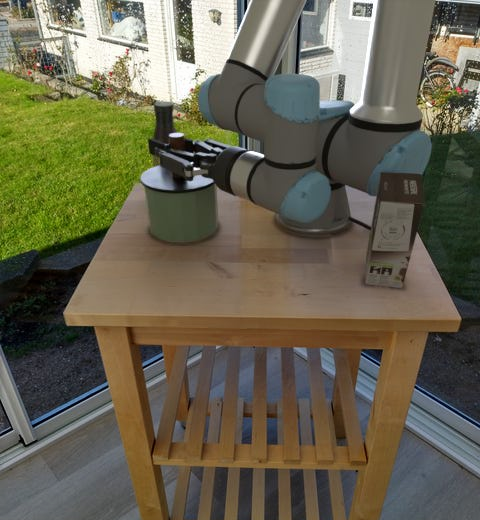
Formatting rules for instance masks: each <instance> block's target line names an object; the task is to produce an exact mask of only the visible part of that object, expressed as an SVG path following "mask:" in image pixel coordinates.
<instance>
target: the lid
mask: <svg viewBox="0 0 480 520" xmlns="http://www.w3.org/2000/svg"><path fill="white" fill-rule="evenodd" d="M184 137H185V134H184V133H182V132H177V133H172V134H169V144H170V145H171V146H172V149H176V150H180V151H184V152H185V139H184ZM139 178H140V183H141V185H142V186H143V187H144V188H145V187H146V188H148V189H150V190H153V191H157V192H163V193H188V192H195V191H199V190H203V189H206V188H208V187H210V186H212V185H214V184H215V182H214V181H213V180H212V179H210V178H204V177H202V176H201V175H196V176H194V178H193V181H186V179H185V178H184V177H182V176H180V175H178V174H176V173H174V172H171V171H169V170H167V169H165V168H163V167H160V165H159V166H156V167H153V166H152V167H151V168H148V169H147V170H146V169H145V171H143V172H142V173H141V175H140V177H139Z"/></svg>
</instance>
